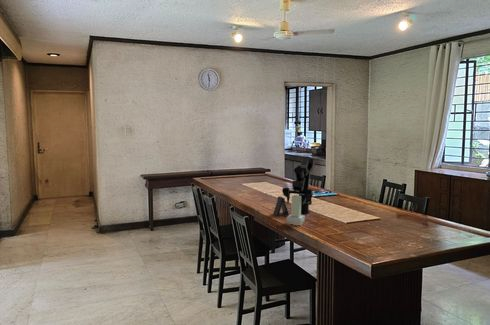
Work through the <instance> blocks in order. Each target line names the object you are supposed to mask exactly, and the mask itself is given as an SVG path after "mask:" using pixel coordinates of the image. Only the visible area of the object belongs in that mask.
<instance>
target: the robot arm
mask: <svg viewBox="0 0 490 325" xmlns="http://www.w3.org/2000/svg"><path fill="white" fill-rule="evenodd" d="M314 167H315V161H314V159H313V158H311V157H310V156H302V158H301V162H300V165H297V166H295V168H294V169H293V173H294V177H295V180H293V181H292V184H291V187H292V189H290V188H289V187H283V188H282V190H281V191H282V194H283V196H284V197H286V203H287V204H289V203H290V200H291V194H292V195H293V194H294V195H295V194H296V195H297V196H302V197H301V214H305V215H308V214H309V213H311V211H310V210H309V209H310V206H311V205H312V203H313V201H312V198H313V197H314V193H313V192H314V191H313V189H310V179H311V178H310V177H311V172H312V171H313V169H314Z"/></svg>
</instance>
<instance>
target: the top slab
mask: <svg viewBox="0 0 490 325" xmlns="http://www.w3.org/2000/svg"><path fill="white" fill-rule="evenodd" d="M303 220H304V221H305V220H306V214H305V215H303V214H301V216H300V217H293V216H291V213H290V214H289V215H287V216H286V222H287V221H291V222H300V223H301V222H302V221H303Z"/></svg>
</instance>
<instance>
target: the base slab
mask: <svg viewBox="0 0 490 325" xmlns="http://www.w3.org/2000/svg"><path fill="white" fill-rule="evenodd" d="M303 222H304V223H305V220H303V221H302V222H301V223H300V222H291V221H287V220H286V225H289V224H293V225H292V226H299V225H301V226H302V225H303V224H304V223H303Z"/></svg>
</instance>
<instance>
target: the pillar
mask: <svg viewBox="0 0 490 325" xmlns="http://www.w3.org/2000/svg"><path fill="white" fill-rule="evenodd" d="M301 197H302V196H298V195H297V194H296V195H295V194H294V195H293V194H292V195H291V209H290V210H291V212H290V214H291V216H293V217H300V216H301V215H302V213H301Z"/></svg>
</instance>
